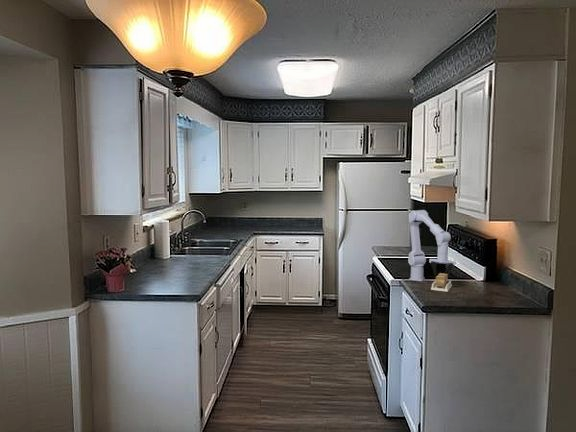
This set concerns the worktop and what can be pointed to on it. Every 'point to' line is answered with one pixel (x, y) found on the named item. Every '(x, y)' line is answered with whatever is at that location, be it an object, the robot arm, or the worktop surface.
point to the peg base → (441, 287)
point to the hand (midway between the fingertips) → (441, 275)
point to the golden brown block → (441, 279)
